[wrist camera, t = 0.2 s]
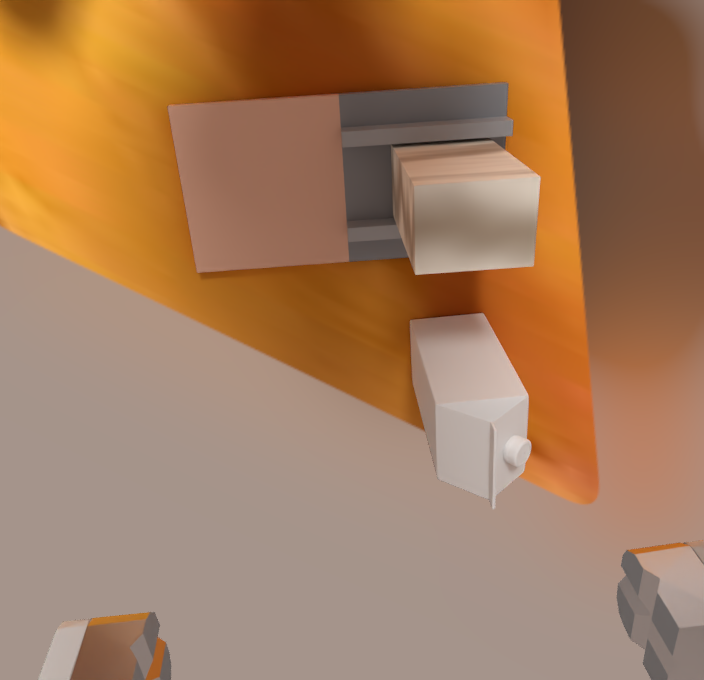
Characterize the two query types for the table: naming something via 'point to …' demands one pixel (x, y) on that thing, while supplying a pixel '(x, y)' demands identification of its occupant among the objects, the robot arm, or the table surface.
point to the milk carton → (469, 403)
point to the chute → (312, 170)
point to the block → (464, 205)
